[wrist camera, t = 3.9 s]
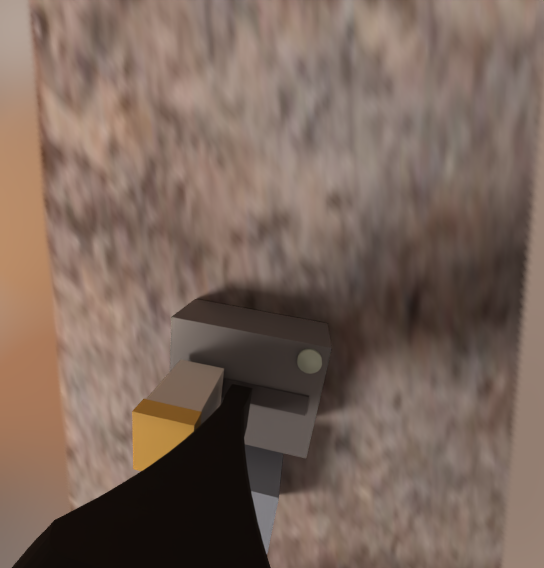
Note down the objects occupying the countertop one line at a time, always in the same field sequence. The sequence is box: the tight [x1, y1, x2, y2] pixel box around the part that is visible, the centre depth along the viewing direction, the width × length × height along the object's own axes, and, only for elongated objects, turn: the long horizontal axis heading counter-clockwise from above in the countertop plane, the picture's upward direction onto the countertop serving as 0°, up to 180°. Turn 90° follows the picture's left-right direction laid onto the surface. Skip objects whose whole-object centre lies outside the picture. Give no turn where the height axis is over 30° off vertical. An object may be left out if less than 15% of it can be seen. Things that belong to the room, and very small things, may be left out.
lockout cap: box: [245, 444, 283, 554], centre depth 14 cm, size 5×5×4 cm
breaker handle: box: [132, 360, 224, 471], centre depth 10 cm, size 2×2×3 cm
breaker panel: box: [170, 299, 332, 459], centre depth 13 cm, size 6×7×3 cm
